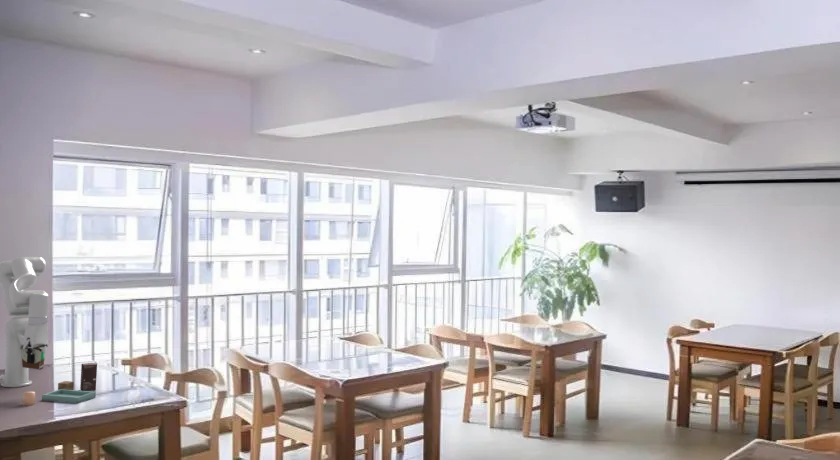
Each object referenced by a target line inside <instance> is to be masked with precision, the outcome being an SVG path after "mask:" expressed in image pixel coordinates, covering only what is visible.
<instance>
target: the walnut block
mask: <svg viewBox="0 0 840 460" xmlns="http://www.w3.org/2000/svg"><path fill="white" fill-rule="evenodd" d="M74 383H75V381H69V380H64V381H61V382H60V381H59V382H58V383H57V390H59V389H65V390H74V389H75V388H74V386H75V384H74Z"/></svg>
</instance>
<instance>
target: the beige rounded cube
mask: <svg viewBox="0 0 840 460" xmlns="http://www.w3.org/2000/svg"><path fill="white" fill-rule="evenodd" d="M35 404H36V391H33V390H29V391H24V392H23V393H22V406H26V407H27V406H28V407H29V406H33V405H35Z"/></svg>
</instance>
